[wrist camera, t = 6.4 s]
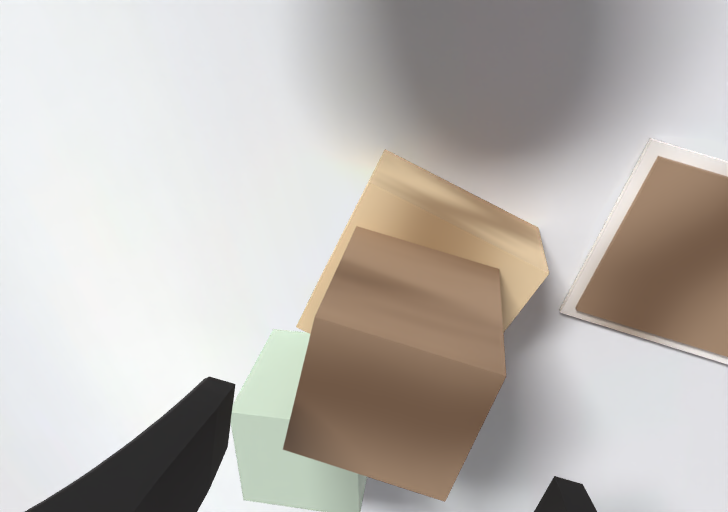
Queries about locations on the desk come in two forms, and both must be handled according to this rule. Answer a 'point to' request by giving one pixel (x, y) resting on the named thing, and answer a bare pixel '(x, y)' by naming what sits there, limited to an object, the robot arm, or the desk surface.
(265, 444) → the sage block
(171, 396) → the desk surface
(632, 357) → the desk surface
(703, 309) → the tile
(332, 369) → the walnut block
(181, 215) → the desk surface
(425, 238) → the maple block
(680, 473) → the desk surface
